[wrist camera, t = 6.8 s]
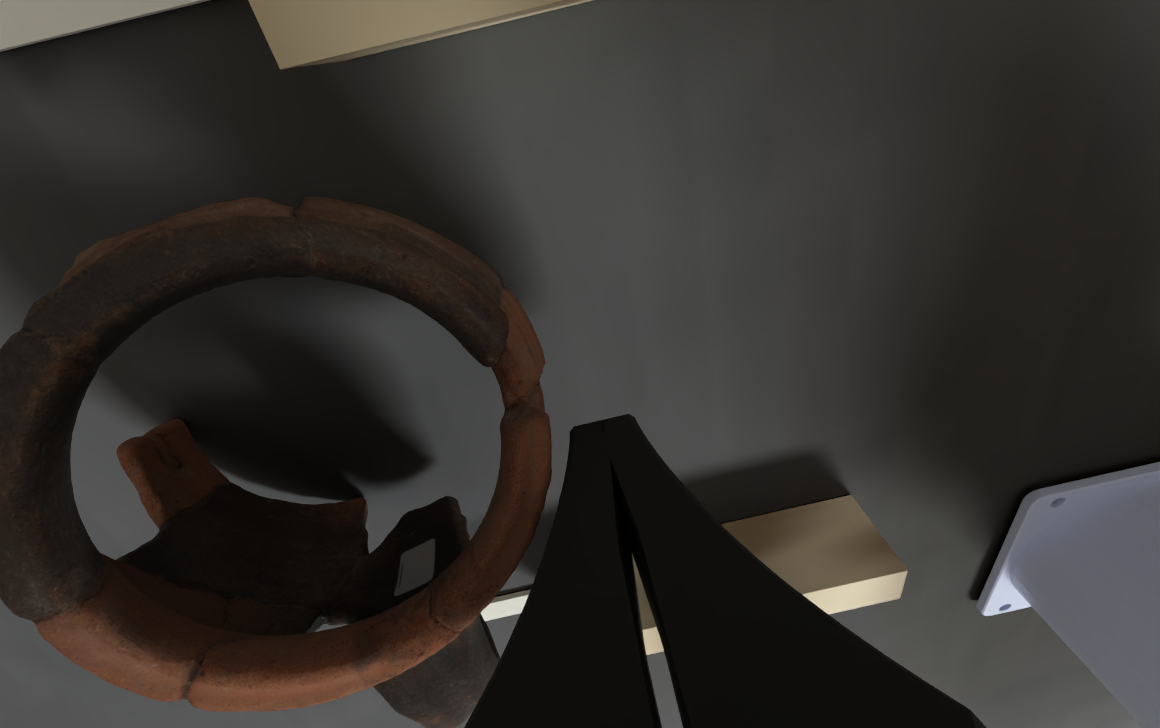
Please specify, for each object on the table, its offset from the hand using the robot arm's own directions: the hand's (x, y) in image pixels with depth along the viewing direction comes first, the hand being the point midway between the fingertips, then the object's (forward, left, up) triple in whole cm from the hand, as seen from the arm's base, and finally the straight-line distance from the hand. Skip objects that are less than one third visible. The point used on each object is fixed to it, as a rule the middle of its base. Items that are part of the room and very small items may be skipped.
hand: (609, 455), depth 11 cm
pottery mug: (+6, 0, -4) cm, 7 cm away
